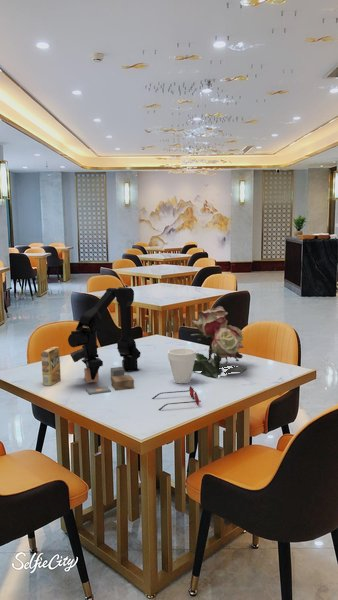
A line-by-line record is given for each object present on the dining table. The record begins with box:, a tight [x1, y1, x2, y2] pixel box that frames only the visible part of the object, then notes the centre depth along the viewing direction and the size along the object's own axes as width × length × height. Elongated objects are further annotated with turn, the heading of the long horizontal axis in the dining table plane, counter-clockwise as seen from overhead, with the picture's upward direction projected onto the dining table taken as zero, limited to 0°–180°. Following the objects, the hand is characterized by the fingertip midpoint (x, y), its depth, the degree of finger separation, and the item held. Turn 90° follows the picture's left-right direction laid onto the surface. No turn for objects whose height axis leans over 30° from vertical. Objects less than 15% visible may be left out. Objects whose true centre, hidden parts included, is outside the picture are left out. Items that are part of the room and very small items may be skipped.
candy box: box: [40, 346, 62, 386], centre depth 225 cm, size 9×4×15 cm, turn 163°
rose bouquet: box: [190, 305, 247, 379], centre depth 242 cm, size 26×29×30 cm
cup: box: [167, 347, 197, 384], centre depth 224 cm, size 12×12×14 cm
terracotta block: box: [83, 367, 100, 383], centre depth 224 cm, size 5×5×5 cm
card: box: [85, 385, 112, 396], centre depth 213 cm, size 9×6×1 cm, turn 112°
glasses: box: [151, 385, 202, 411], centre depth 197 cm, size 14×16×5 cm
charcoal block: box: [110, 366, 126, 378], centre depth 229 cm, size 5×5×5 cm
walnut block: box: [110, 374, 135, 391], centre depth 219 cm, size 8×8×4 cm
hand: (91, 377), depth 224 cm, fingers closed on terracotta block, 5 cm apart
